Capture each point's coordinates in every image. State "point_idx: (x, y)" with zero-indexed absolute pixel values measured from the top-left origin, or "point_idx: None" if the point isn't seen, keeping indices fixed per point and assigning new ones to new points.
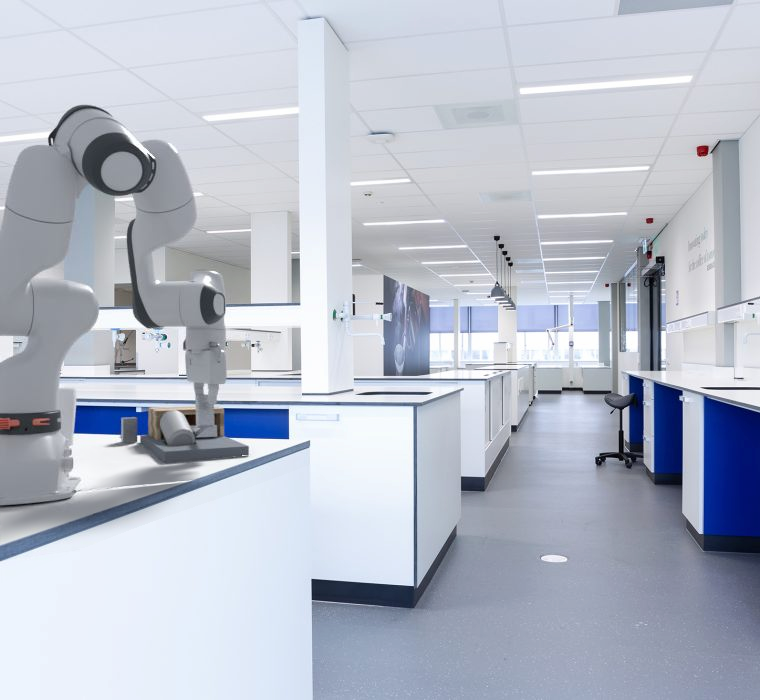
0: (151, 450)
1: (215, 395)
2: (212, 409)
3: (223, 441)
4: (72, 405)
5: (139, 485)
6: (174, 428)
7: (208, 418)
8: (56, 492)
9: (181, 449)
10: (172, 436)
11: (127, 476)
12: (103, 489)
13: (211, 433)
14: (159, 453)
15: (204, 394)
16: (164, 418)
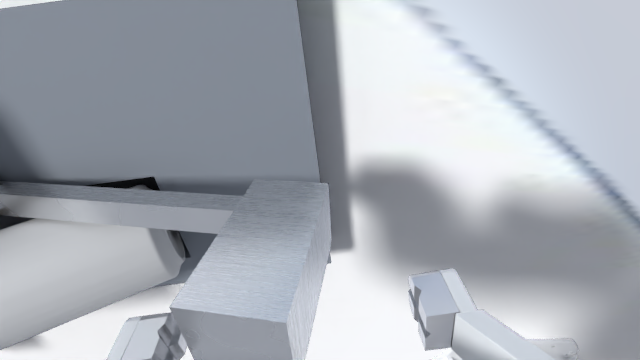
0: None
1: (489, 322)
2: (314, 244)
3: (84, 69)
4: None
5: (578, 274)
6: (148, 285)
7: (323, 227)
8: (563, 353)
9: None
10: (179, 268)
11: (469, 293)
12: (567, 312)
13: None
14: None
15: (150, 358)
16: (25, 339)
